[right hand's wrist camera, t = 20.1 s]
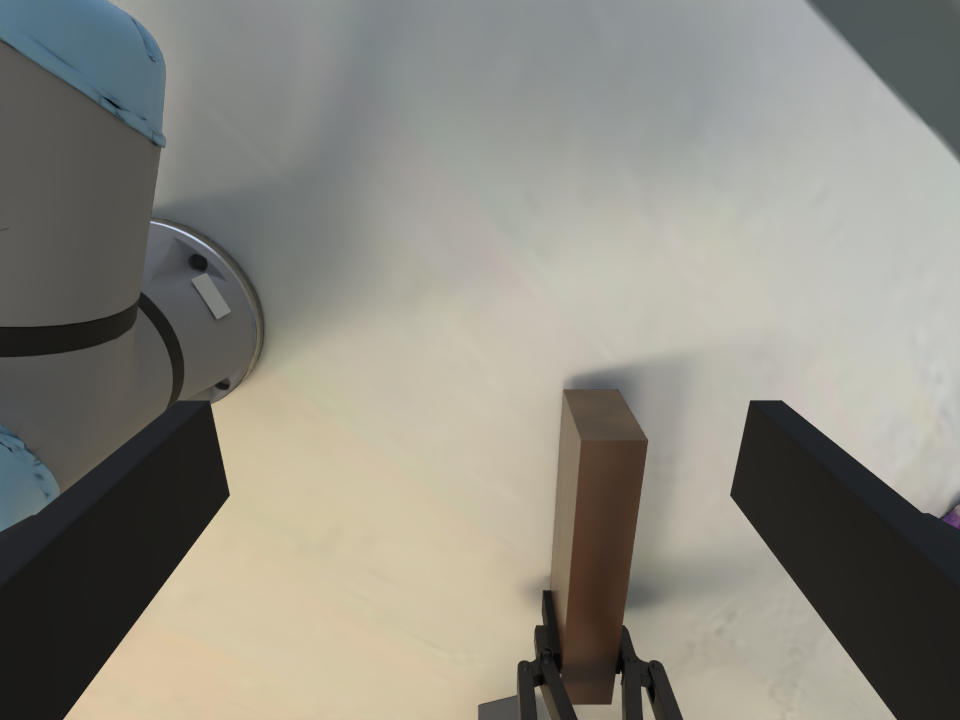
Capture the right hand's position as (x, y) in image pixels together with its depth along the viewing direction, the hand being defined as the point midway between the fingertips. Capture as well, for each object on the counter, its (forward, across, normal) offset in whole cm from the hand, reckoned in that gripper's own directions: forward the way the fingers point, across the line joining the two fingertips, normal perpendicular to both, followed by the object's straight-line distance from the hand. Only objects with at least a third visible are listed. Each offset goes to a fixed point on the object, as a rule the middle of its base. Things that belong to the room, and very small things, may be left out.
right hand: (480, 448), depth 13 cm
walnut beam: (+27, +9, -24) cm, 37 cm away
